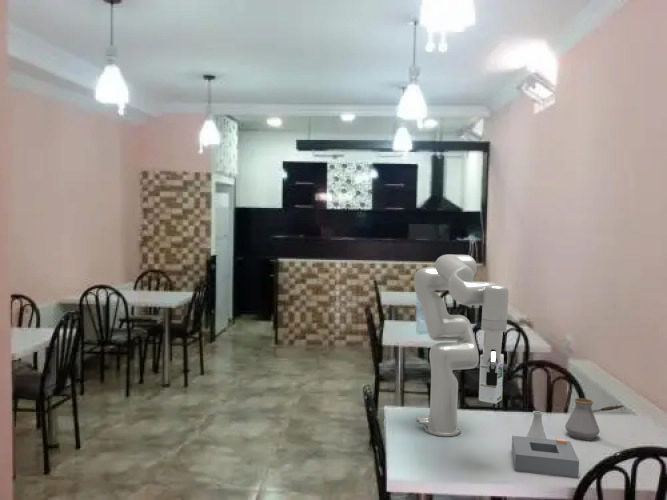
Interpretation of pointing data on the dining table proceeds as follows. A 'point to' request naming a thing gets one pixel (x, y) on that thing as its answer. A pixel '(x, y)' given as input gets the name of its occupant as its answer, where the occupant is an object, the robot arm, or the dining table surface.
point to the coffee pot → (585, 419)
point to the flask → (537, 426)
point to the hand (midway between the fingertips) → (491, 381)
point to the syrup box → (487, 391)
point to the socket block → (545, 456)
